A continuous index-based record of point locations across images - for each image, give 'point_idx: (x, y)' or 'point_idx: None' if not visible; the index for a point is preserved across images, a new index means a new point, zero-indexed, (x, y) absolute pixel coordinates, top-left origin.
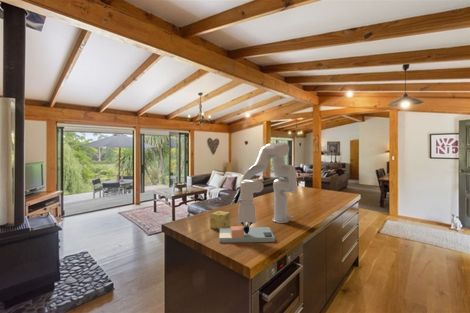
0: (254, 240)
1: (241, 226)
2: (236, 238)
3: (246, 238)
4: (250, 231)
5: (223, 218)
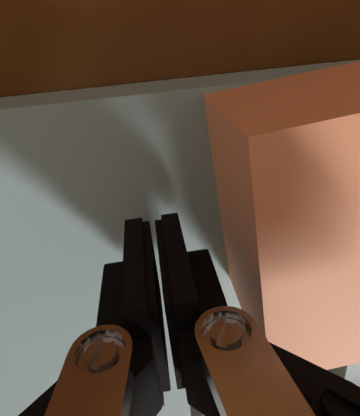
0: (5, 100)
1: None
2: None
3: (151, 89)
4: None
5: None
